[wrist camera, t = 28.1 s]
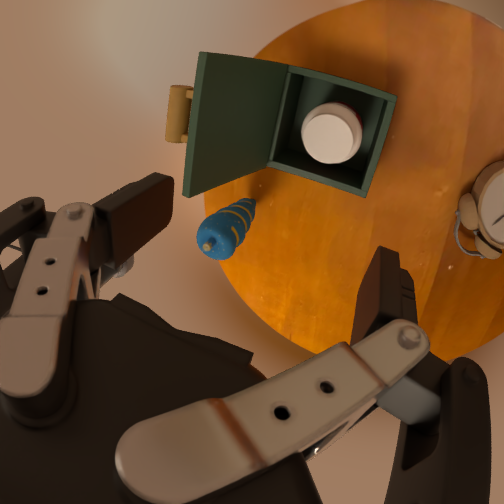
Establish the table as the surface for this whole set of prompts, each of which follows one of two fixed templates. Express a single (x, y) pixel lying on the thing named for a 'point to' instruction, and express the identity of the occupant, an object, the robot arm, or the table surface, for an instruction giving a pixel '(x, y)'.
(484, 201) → the alarm clock
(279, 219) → the table surface
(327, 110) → the pill bottle
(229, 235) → the ornament
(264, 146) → the lid
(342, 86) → the chest
